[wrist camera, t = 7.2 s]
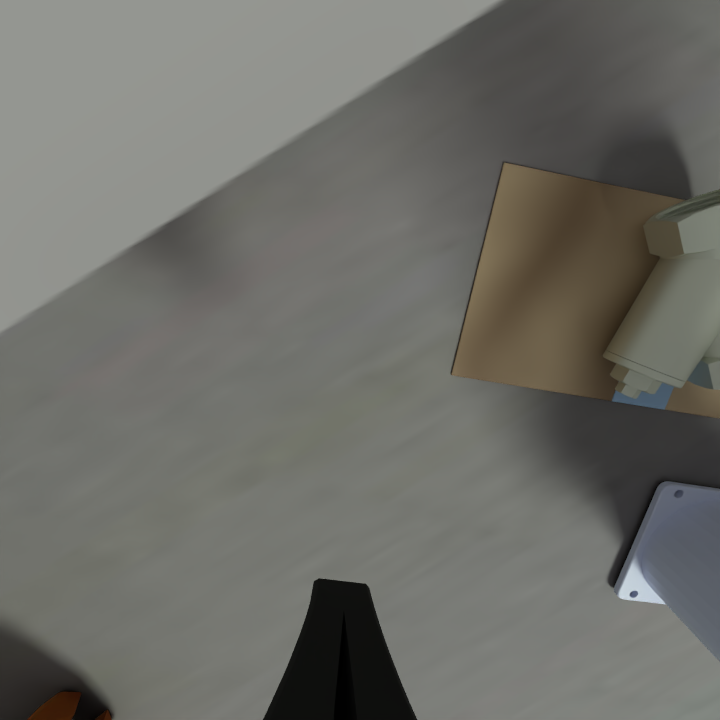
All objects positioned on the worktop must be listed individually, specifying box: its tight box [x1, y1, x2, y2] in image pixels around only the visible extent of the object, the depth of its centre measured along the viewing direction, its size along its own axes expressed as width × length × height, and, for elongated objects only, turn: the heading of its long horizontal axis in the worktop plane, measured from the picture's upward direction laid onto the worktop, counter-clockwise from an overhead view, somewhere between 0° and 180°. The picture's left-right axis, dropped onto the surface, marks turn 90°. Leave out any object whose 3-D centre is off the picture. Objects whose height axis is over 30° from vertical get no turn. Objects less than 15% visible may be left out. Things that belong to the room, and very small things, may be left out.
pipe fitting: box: [603, 189, 720, 399], centre depth 16 cm, size 8×4×7 cm
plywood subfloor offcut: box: [451, 163, 720, 418], centre depth 18 cm, size 20×10×1 cm, turn 80°
